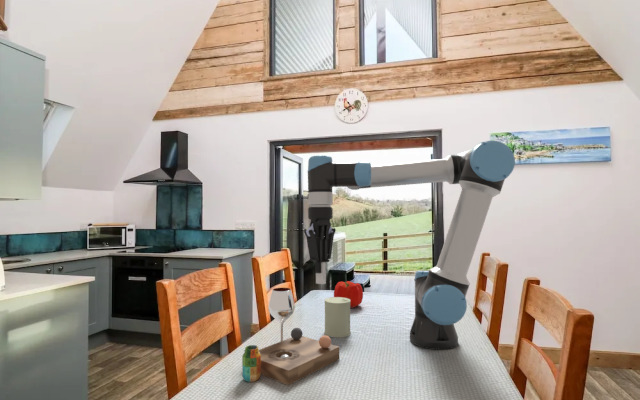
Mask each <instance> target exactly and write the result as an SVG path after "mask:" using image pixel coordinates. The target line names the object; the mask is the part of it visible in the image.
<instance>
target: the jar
mask: <svg viewBox="0 0 640 400" xmlns="http://www.w3.org/2000/svg"><path fill="white" fill-rule="evenodd" d="M259 350H260V349H259V346H258V345H253V344H251V345H246V346H245V348H244V353H243V354H242V355H241V356H242V360H241V362H242V366H241V367H242V368H241V369H242V372H241V373H242V378H243V380H244V381H245V382H246V383H247V382H248V383H253V382H257V381H258V380H259V379H260V377H261V374H260V373H261V354H260V352H259Z"/></svg>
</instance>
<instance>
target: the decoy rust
mask: <svg viewBox="0 0 640 400" xmlns="http://www.w3.org/2000/svg"><path fill="white" fill-rule="evenodd" d="M318 341H319V345H320V346H321V347H322V348H328V347H329V346H330V345H331V344H332V338H330V336H327V335H325V334H324V335H322V336H320V337H319V339H318Z"/></svg>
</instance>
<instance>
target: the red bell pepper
mask: <svg viewBox="0 0 640 400" xmlns="http://www.w3.org/2000/svg"><path fill="white" fill-rule="evenodd" d="M362 287H363V286H362V285H361V283H357V282H356V283H354V282H352V281H350V280H347V281H338V282H337V283H336V285H335V287H334V290H333V297H343V298H348V299H350V300H351V301H350V309H351V308H356V307H357V306H359V305H361V304H362V302H363V297H364V293H363V291H364V290H363V288H362Z"/></svg>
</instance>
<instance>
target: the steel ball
mask: <svg viewBox="0 0 640 400" xmlns="http://www.w3.org/2000/svg"><path fill="white" fill-rule="evenodd" d="M288 357H290V356H289V355H287V354H283V355H281V356H280V358H288Z"/></svg>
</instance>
